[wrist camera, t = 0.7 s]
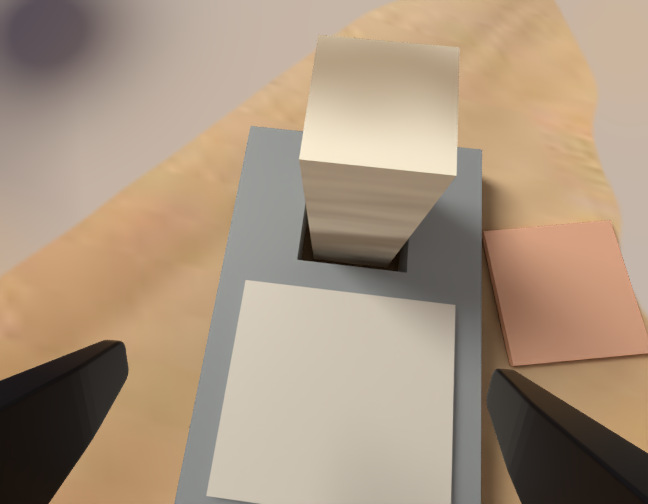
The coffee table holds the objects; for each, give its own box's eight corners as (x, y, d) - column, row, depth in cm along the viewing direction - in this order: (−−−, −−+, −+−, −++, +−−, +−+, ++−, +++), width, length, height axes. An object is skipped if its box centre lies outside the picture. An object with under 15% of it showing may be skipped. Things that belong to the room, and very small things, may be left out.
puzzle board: (459, 540, 18) (484, 576, 15) (190, 501, 18) (166, 529, 15) (465, 170, 23) (484, 146, 20) (258, 148, 24) (249, 121, 21)
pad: (646, 352, 20) (653, 352, 20) (509, 365, 20) (513, 366, 19) (605, 222, 22) (610, 220, 22) (481, 233, 22) (483, 231, 21)
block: (386, 267, 21) (456, 175, 10) (314, 259, 22) (298, 159, 10) (391, 200, 23) (459, 47, 11) (322, 193, 23) (318, 34, 11)
